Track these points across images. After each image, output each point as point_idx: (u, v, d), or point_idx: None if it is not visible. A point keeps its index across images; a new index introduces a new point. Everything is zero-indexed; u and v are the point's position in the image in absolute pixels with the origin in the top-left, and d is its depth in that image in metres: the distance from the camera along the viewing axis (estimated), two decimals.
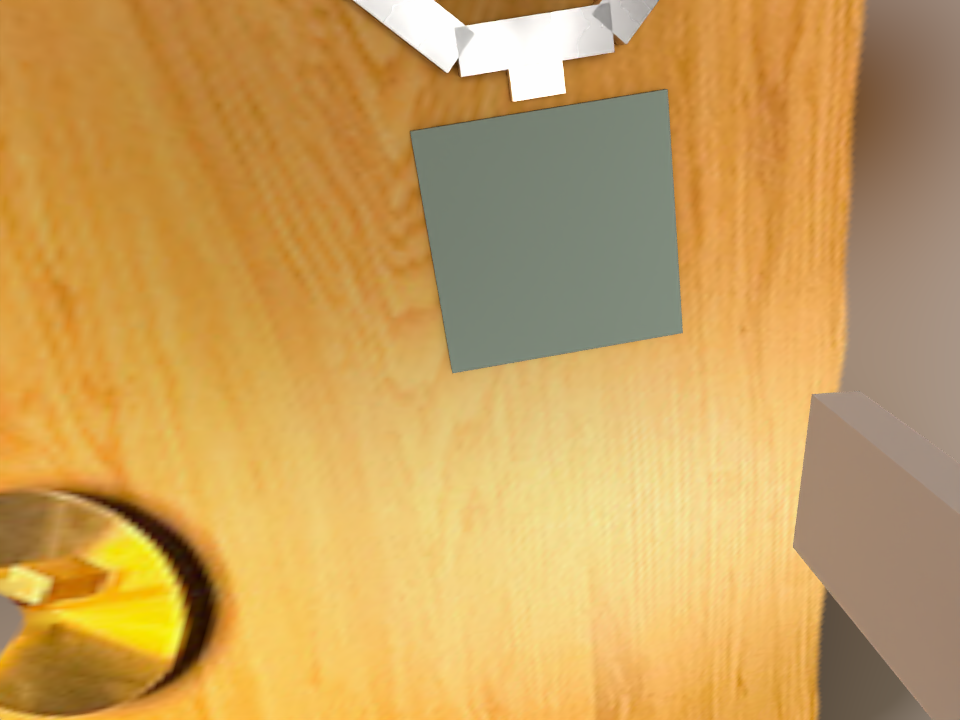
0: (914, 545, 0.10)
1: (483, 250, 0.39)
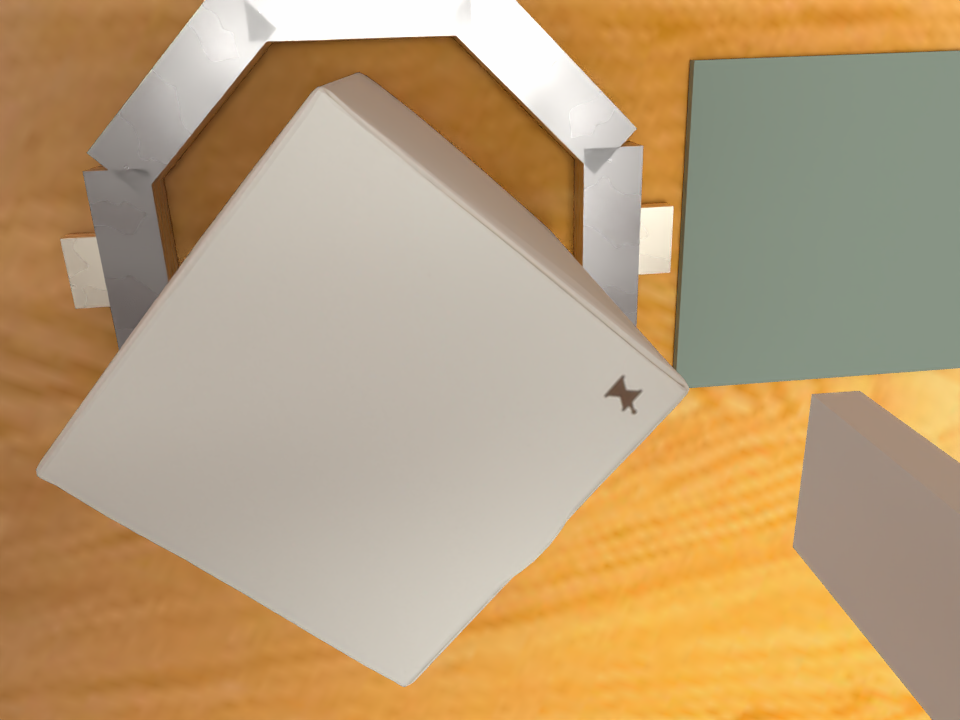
0: (914, 544, 0.10)
1: (830, 317, 0.31)
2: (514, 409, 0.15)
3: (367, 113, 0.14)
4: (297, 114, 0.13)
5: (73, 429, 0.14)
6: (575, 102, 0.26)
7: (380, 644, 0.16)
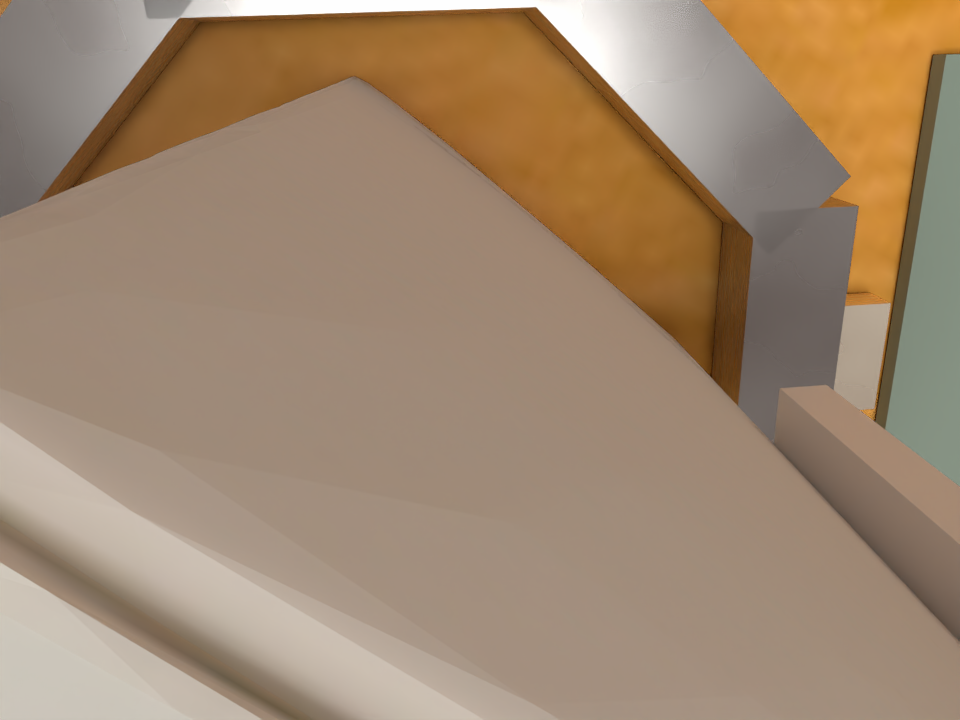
0: (872, 533, 0.10)
1: None
2: None
3: (322, 367, 0.02)
4: None
5: None
6: (745, 130, 0.14)
7: None
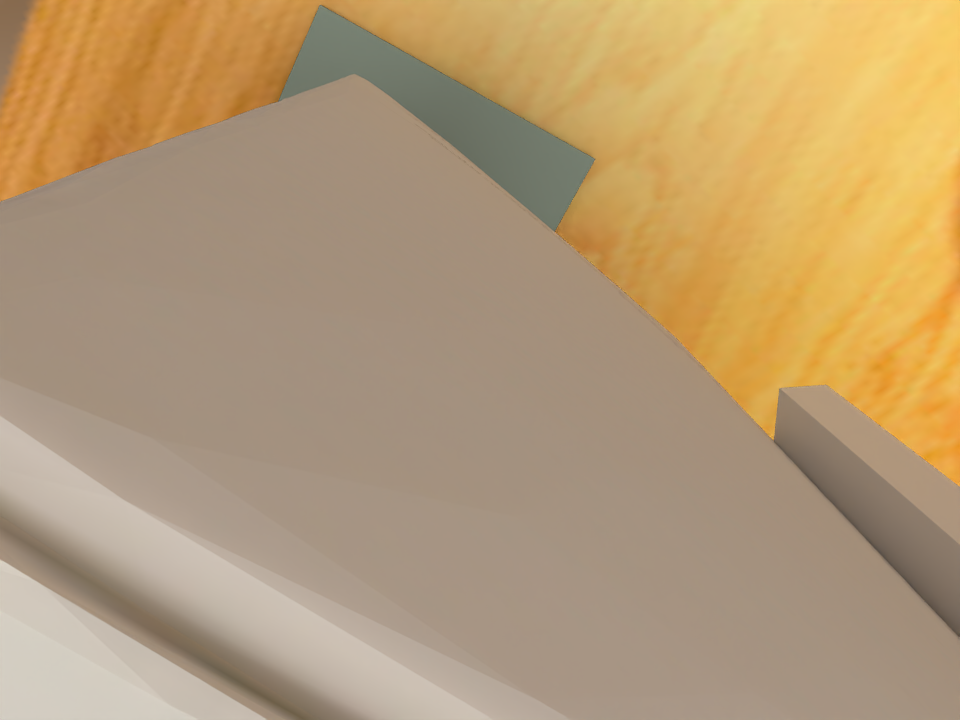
0: (872, 533, 0.10)
1: None
2: None
3: (322, 358, 0.02)
4: None
5: None
6: None
7: None
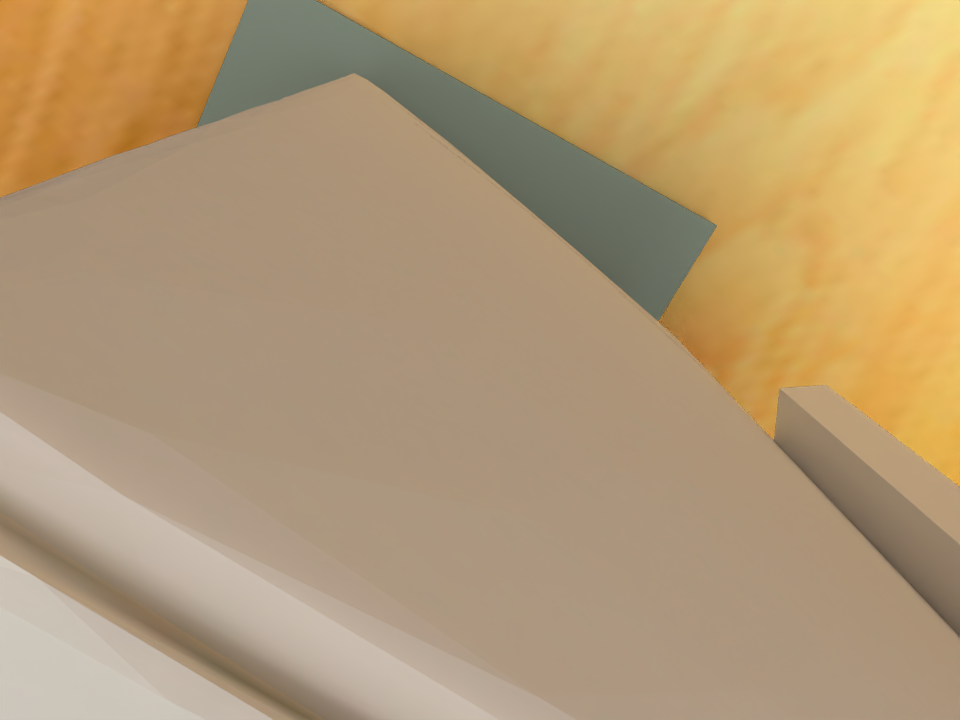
0: (871, 533, 0.10)
1: None
2: None
3: (322, 355, 0.02)
4: None
5: None
6: None
7: None
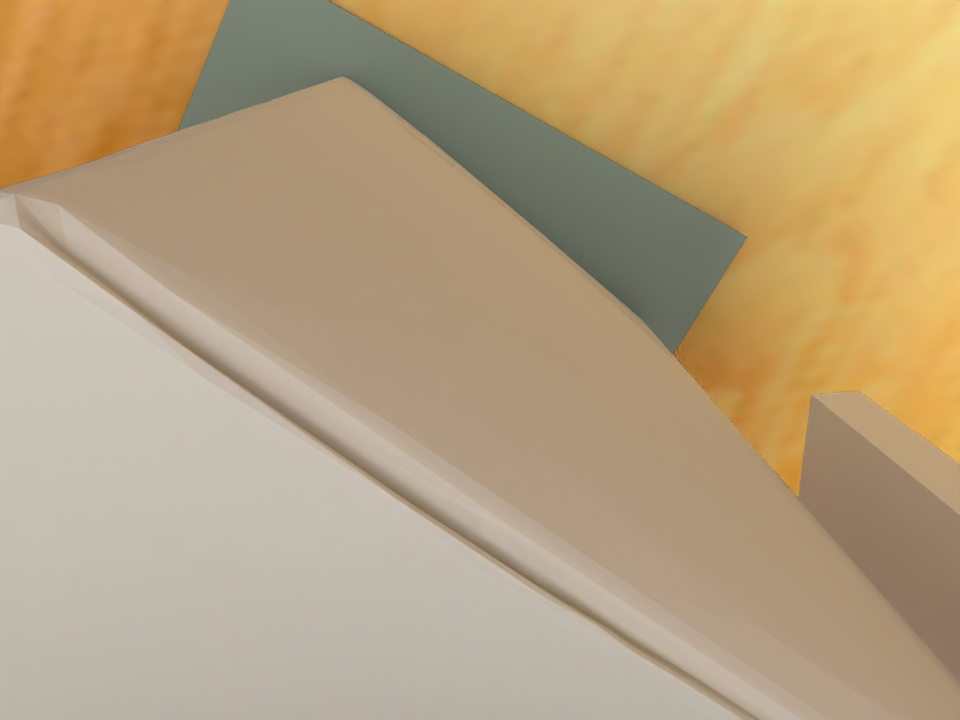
0: (912, 544, 0.10)
1: None
2: None
3: (280, 258, 0.04)
4: None
5: None
6: None
7: None
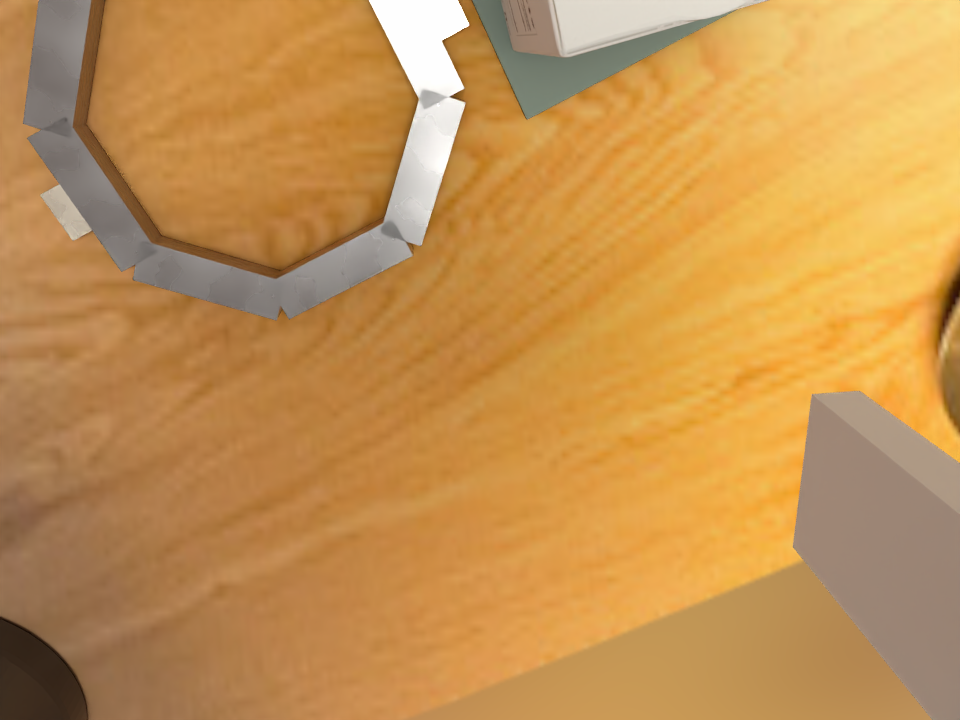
0: (914, 544, 0.10)
1: None
2: None
3: None
4: None
5: None
6: None
7: (578, 3, 0.22)
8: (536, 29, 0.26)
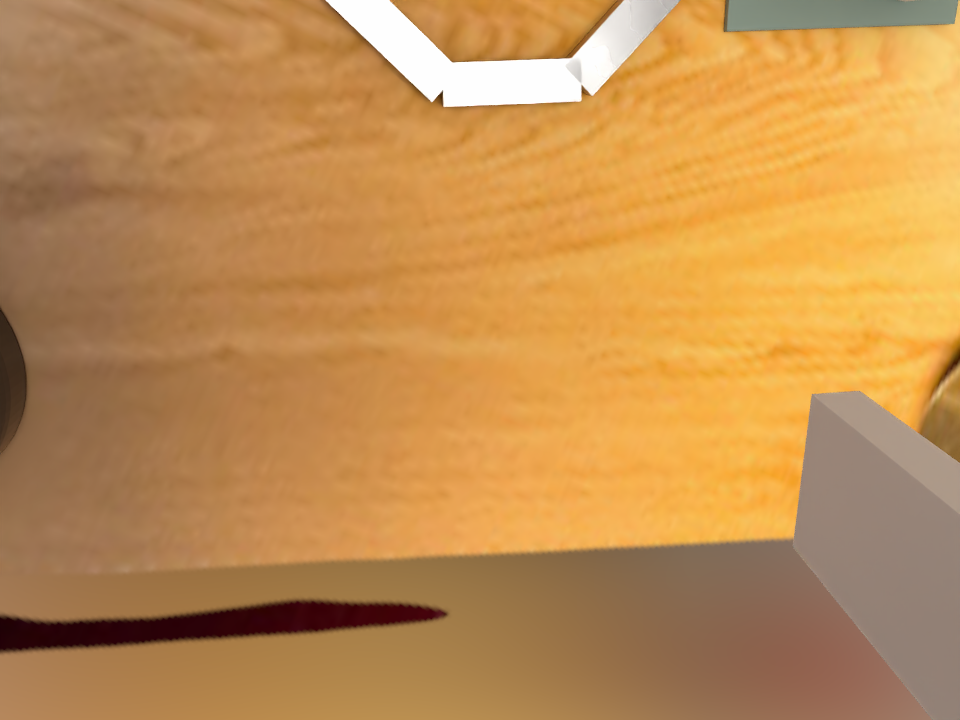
0: (913, 545, 0.10)
1: None
2: None
3: None
4: None
5: None
6: None
7: None
8: None
